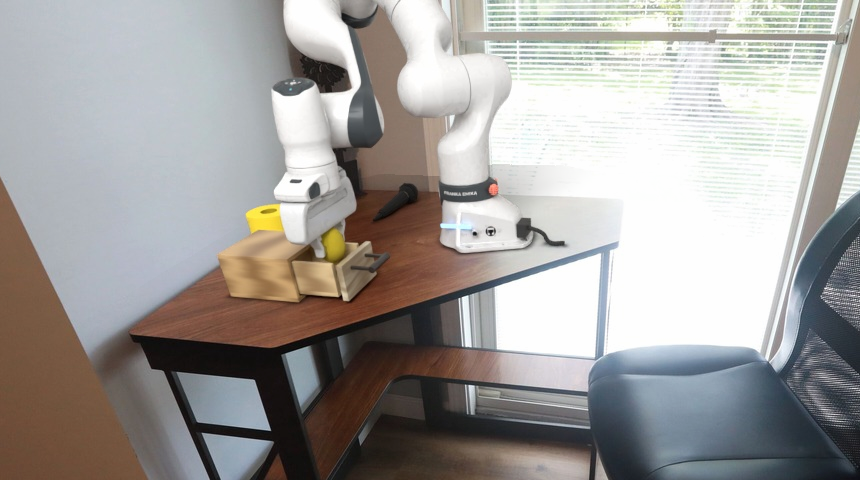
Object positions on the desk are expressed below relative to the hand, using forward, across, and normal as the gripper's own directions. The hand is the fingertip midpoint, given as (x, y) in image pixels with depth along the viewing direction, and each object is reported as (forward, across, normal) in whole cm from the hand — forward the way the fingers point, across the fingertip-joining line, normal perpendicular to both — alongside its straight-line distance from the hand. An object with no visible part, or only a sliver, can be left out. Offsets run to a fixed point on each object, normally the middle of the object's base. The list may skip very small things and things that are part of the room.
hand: (331, 249), depth 111 cm
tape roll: (+9, -17, -25) cm, 32 cm away
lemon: (+3, 0, 0) cm, 3 cm away
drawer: (+8, 0, +1) cm, 8 cm away
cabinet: (+9, 0, -13) cm, 16 cm away
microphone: (+9, -48, -10) cm, 50 cm away
